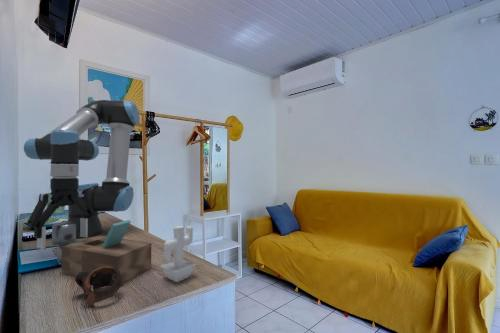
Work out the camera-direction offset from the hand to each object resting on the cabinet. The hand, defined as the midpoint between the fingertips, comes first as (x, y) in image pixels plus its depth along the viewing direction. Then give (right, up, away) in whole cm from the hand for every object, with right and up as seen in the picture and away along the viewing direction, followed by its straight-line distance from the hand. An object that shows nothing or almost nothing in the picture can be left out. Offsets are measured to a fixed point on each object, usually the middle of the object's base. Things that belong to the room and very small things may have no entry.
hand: (64, 242), depth 84 cm
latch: (+21, +4, -7) cm, 23 cm away
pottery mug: (+23, -8, -20) cm, 32 cm away
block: (+17, -7, -5) cm, 19 cm away
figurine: (+40, -8, -9) cm, 42 cm away
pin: (0, -7, 0) cm, 7 cm away
